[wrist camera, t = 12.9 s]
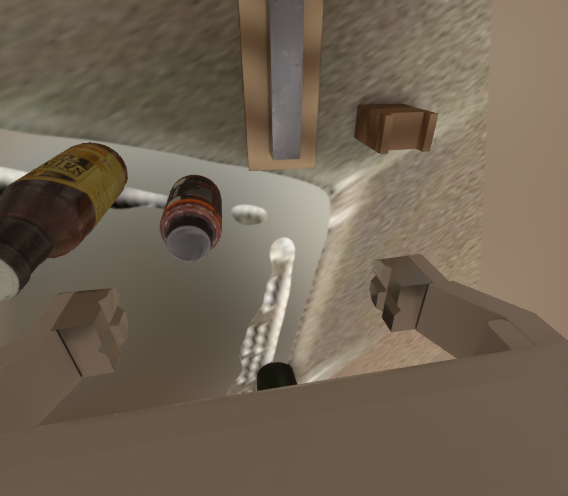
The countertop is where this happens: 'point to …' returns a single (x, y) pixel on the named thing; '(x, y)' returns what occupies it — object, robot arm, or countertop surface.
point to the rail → (284, 76)
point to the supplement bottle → (192, 218)
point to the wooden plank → (257, 84)
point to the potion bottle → (275, 376)
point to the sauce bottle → (55, 209)
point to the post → (395, 127)
